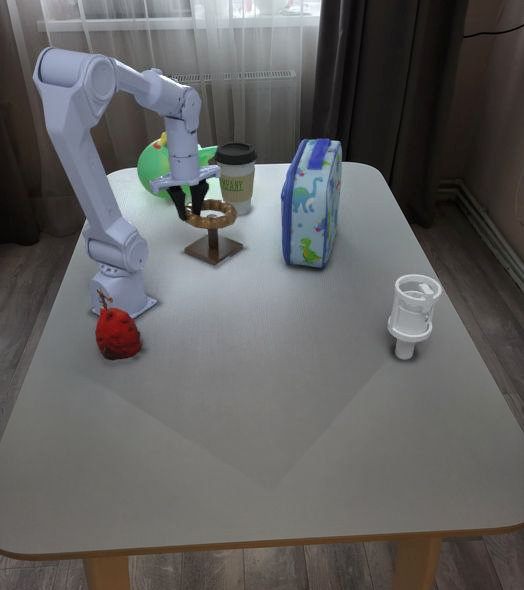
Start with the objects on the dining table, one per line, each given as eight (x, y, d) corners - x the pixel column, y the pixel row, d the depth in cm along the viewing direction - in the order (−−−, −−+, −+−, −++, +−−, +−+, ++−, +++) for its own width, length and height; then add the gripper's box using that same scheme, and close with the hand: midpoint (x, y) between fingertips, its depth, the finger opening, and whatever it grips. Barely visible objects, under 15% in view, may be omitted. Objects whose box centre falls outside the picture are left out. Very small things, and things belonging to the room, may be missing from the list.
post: (216, 266, 116) (214, 231, 111) (184, 253, 120) (181, 218, 115) (243, 248, 121) (242, 214, 116) (212, 236, 126) (209, 202, 120)
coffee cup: (211, 204, 137) (207, 144, 127) (247, 197, 140) (246, 137, 130) (226, 222, 130) (223, 159, 120) (264, 214, 133) (264, 152, 124)
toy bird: (180, 174, 150) (174, 118, 141) (226, 192, 142) (223, 134, 133) (128, 197, 140) (118, 139, 130) (175, 218, 132) (168, 157, 122)
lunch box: (295, 213, 133) (298, 125, 120) (339, 218, 132) (348, 128, 118) (275, 273, 114) (276, 175, 100) (327, 278, 113) (336, 180, 99)
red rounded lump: (150, 344, 97) (137, 272, 87) (130, 371, 92) (114, 297, 82) (112, 335, 99) (96, 263, 89) (90, 360, 94) (70, 287, 84)
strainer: (393, 370, 92) (409, 297, 82) (376, 344, 97) (388, 271, 87) (432, 363, 94) (451, 289, 84) (412, 337, 99) (429, 265, 89)
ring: (228, 234, 112) (228, 223, 111) (174, 226, 114) (173, 215, 112) (243, 212, 121) (243, 201, 120) (192, 204, 123) (192, 194, 122)
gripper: (156, 167, 100) (165, 234, 109) (226, 151, 106) (229, 216, 115) (141, 154, 105) (151, 219, 114) (209, 139, 111) (213, 202, 120)
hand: (189, 217), depth 115 cm, fingers closed on ring, 3 cm apart
